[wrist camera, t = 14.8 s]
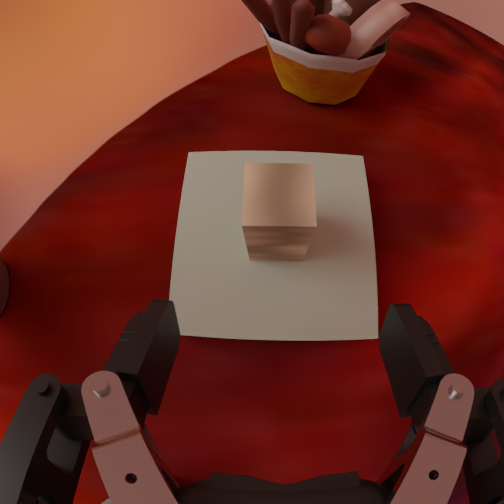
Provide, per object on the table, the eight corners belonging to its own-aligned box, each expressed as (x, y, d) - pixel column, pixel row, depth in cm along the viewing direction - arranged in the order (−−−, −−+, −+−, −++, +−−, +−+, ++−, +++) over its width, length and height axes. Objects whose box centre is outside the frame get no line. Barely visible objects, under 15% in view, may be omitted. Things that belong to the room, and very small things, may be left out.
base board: (179, 334, 28) (166, 333, 24) (196, 172, 33) (188, 152, 29) (363, 339, 27) (378, 338, 23) (353, 175, 32) (362, 156, 28)
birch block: (249, 260, 25) (241, 225, 18) (251, 212, 27) (244, 163, 19) (302, 261, 25) (316, 226, 18) (301, 212, 27) (312, 164, 19)
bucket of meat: (312, 39, 40) (319, -58, 21) (394, 86, 36) (431, -17, 17) (224, 88, 37) (202, -36, 18) (317, 151, 33) (347, 1, 14)
